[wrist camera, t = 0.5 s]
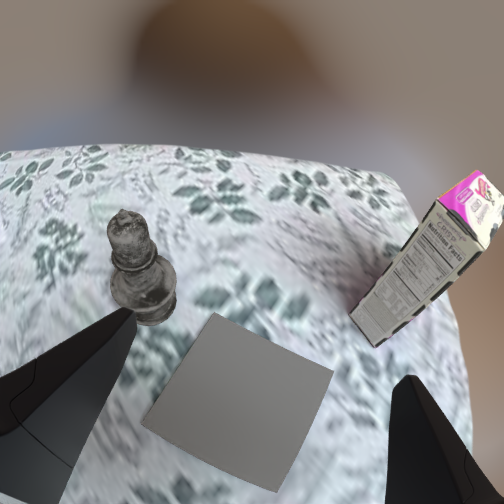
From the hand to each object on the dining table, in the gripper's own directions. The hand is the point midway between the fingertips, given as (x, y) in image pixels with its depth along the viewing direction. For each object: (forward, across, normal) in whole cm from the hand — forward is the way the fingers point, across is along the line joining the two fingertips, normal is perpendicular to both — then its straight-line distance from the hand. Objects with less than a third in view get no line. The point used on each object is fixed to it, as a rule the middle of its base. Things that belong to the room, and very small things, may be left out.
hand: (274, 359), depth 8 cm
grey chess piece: (+13, +10, +13) cm, 21 cm away
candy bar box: (+19, -14, +11) cm, 26 cm away
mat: (+6, 0, +15) cm, 16 cm away
